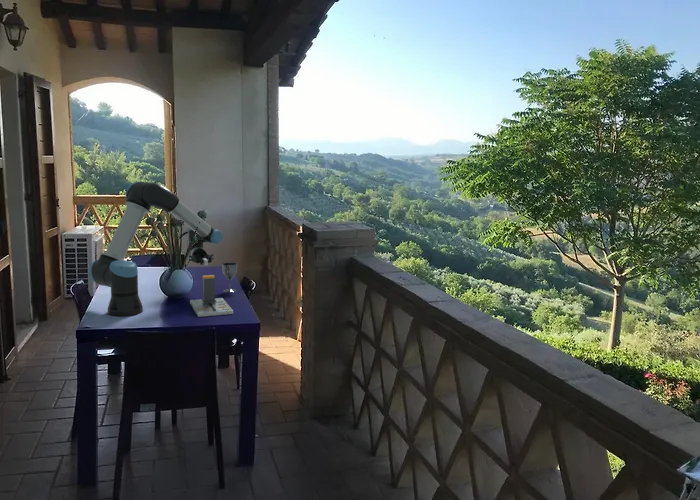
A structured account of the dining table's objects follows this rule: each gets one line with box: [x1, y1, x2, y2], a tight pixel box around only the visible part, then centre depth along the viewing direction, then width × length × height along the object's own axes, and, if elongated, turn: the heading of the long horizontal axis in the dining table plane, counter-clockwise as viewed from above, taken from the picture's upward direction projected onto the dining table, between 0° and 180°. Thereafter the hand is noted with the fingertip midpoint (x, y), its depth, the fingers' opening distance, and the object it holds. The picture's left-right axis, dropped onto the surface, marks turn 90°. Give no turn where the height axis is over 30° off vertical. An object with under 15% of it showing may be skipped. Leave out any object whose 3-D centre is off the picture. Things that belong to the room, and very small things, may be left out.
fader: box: [202, 274, 216, 303], centre depth 277 cm, size 6×5×13 cm
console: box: [189, 297, 234, 318], centre depth 273 cm, size 16×26×2 cm, turn 23°
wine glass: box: [221, 261, 238, 293], centre depth 309 cm, size 8×8×15 cm
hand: (206, 263), depth 282 cm, fingers closed
